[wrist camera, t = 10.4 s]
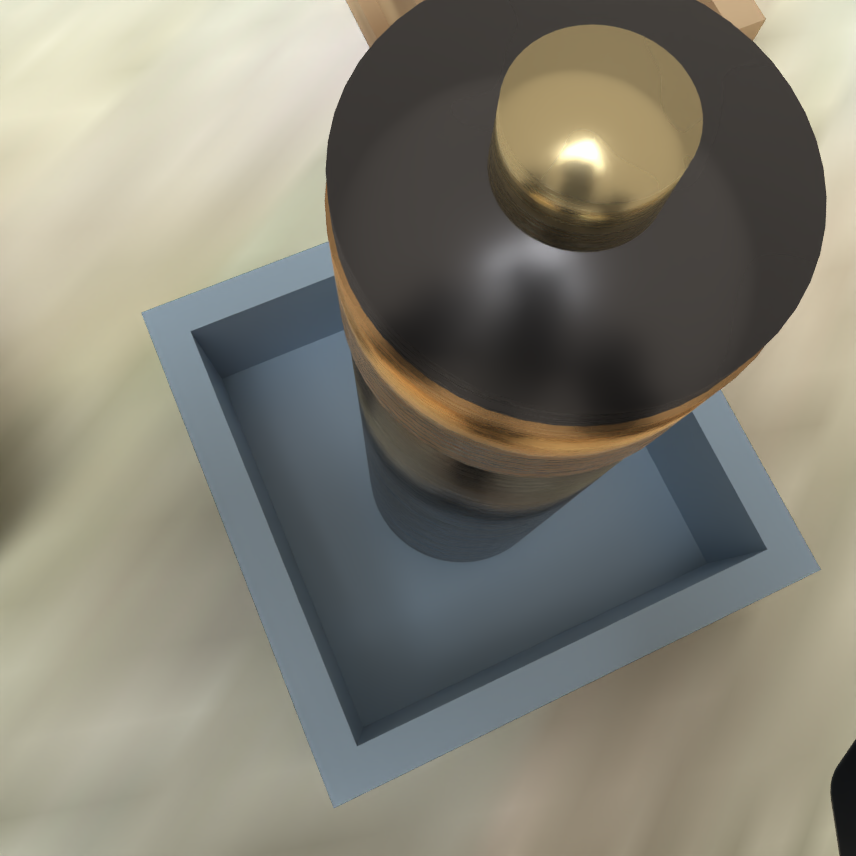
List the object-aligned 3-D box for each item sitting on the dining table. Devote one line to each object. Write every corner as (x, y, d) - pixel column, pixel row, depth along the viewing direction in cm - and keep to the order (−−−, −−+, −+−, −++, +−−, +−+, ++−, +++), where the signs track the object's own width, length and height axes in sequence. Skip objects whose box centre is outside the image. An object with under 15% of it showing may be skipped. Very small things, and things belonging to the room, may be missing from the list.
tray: (737, 582, 20) (820, 569, 16) (346, 772, 18) (333, 808, 15) (550, 229, 22) (584, 144, 18) (188, 373, 21) (141, 312, 17)
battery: (582, 518, 19) (998, 249, 6) (413, 595, 19) (462, 487, 5) (502, 357, 20) (709, -179, 7) (339, 425, 20) (224, -21, 6)
